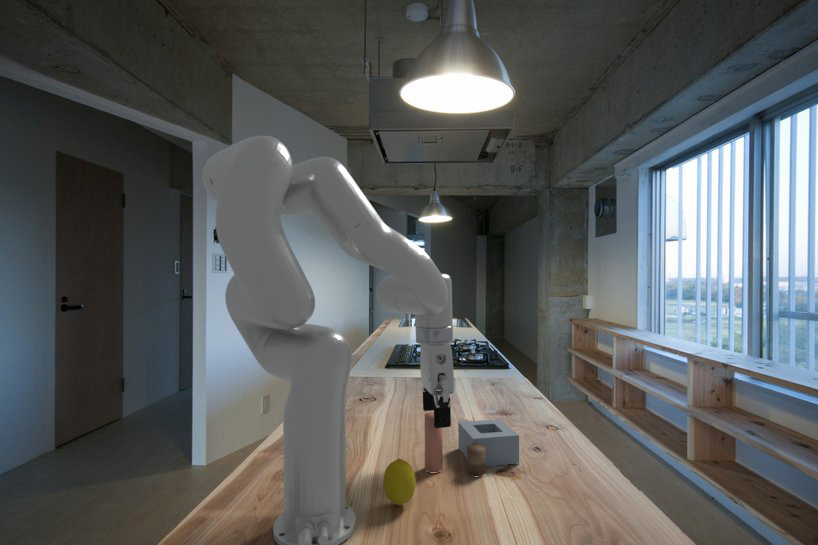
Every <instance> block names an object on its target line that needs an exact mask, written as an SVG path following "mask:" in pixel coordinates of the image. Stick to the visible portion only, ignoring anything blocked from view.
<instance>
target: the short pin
mask: <svg viewBox="0 0 818 545" xmlns="http://www.w3.org/2000/svg"><path fill="white" fill-rule="evenodd" d="M466 460H467V461H466V467H467V469H466V470H467V471H466V472H468V473H469V474H470V475H473V476H482V475H484V474H485V473H487V472H486V471H487V469H486V468H487V467H486V448H485V447H484V446H482V445H478V444H472V445H469V446H468V447H467V459H466ZM468 473H467V474H468ZM470 475H469V476H470ZM485 475H486V474H485Z"/></svg>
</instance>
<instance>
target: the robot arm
mask: <svg viewBox="0 0 818 545" xmlns="http://www.w3.org/2000/svg"><path fill="white" fill-rule="evenodd" d="M201 173H202V175H201V177H202V178H201V179H202V183H203V186H204V188H205V190H206V192H207V194H208V195H209V196H210V197H211V198H212V199H213V200H214V201H216V207H215V208H216V209H215V230H216V235H217V239H218V243H219V244H220V248H221V250H222V252H223V254H224V256H225V258H226V260H227V262H228V263H229V266H230V268H231V271H232V272H233V275H232V277H231V278H230V280H229V281H228V283H227V285H226V289H225V294H224V295H225V297H224V298H225V306H226V309H227V312H228V315H229V317H230V318H231V320H232V322H233V324H234V325H235V327H236V329H237V331H238V332H239V334H240V336H241V337H242V339H243V340H244V342H245V343H246V345H247V348H249V350H250V352H251V353H252V355H253V357H254V359H255V360H256V361H257V363H258V364H259V365H260V366H261V368H262V370H265V372H266V373H268V374H270V375H271V376H273V377H276V378H279V379H281V380H285V381H287V382H289V383H290V388H289V392H288V396H287V398H286V400H285V404H284V410H283V417H282V420H283V422H282V423H283V424H282V431H283V433H282V434H283V511H282V512H281V513H280V514H279V515H278V517H276V519H275V521H274V523H273V527H272V531H273V532H272V534H273V539H274V541H275V542H276V544H278V545H341V544H342V543H344V542H345V541H346V540H347V539H349V538H350V537H351V536H352V534H353V533H354V531H355V530H356V525H357V516H356V513H355V511H354V510H353V508H351V507H350V506H349V505H347V447H346V446H347V432H346V431H347V427H346V425H347V424H346V422H347V421H346V420H347V419H346V416H347V415H346V414H347V412H346V410H347V395H348V394H347V393H348V392H347V391H348V385H349V380H350V375H351V371H352V362H353V357H352V356H353V355H352V354H353V353H352V350H351V346H350V344H349V342H348V340H347V339H346V338H345V336H344V335H343V334H341V333H340V332H339V331H338V330H336V329H334V328H331V327H328V326H325V325H319V324H318V325H317V324H313V323H308V321H309V320H310V319H311V317H312V316H313V314H314V312H315V308H316V298H315V294H314V290H313V288H312V286H311V284H310V282H309V279H308V278H307V276H306V274H305V272H304V269H303V268H302V266H301V264H300V262H299V261H298V259H297V257H296V255H295V253H294V251H293V249H292V247H291V245H290V243H289V241H288V239H287V236H286V233H285V231H284V228H283V224H282V215H287V216H289V215H290V216H300V215H309V214H313V215H314V216H315V217H316V219H317V220H318V221H319V223H320V224H321V225H322V226H323V227H324V228H325V230H326V231H327V232H328V234H329V235H330V236H331V237H332V238H333V240H334V241H335V242H336V244H337V245H338V246H339V247H340V249H341V250H342V251H343V252H344V253H345V254H346V255H347V256H349V257H350V258H353V259H354V260H357V261H358V262H361V263H363V264H366V265H368V266H371V267H375V268H378V269H379V270H381V271H384V272H387V273H388V274H390V275H387V276H386V277H384V278H382V279H381V280H380V282H379V283H378V285H377V288H376V294H375V297H376V300H377V302H378V304H379V305H380V306H381V307H382V309H384V310H386V311H387V312H391V313H393V314H395V313H397V314H403V315H404V314H405V315H406V314H407V315H415V316H414V317H415V318H414V319H415V343H417V344H418V345H420V348H419V349H420V354H419V356H420V358H419V359H420V360H419V361H420V370H419V371H420V381H421V384H422V410H423V411H424V412H429V411H430V412H431V411H433V412H434V427H435V428H443V429H444V428H445V429H446V428H450V427H451V426H452V418H451V405H452V404H451V397H450V396H451V394H453V395H454V392H455V391H456V390H455V377H454V376H455V373H454V362H453V361H454V359H453V352H452V346H451V344H452V343H453V342H454V335H453V334H454V333H453V332H454V326H453V283H452V281H453V280H452V279H451V278H452V277H451V276H450V275H449V274H447V273H443V272H442V273H441V271H440V270H439V269H438V267H437V265H436V264H435V262H434V261H433V259H432V258H431V257H430V256H429V254H428V253H427V252H425V251H424V250H423V249H422V248H421V247H420V246H419V245H417V244H415V243H414V242H413V241H411V240H410V239H408V238H407V237H406V236H404V235H403V234H401V233H400V232H398V231H397V230H395V229H393V228H392V227H390V226H389V225H387V224H386V223H385V222H384V220H383V219H382V218H381V216H380V215H379V214H378V212H377V211H376V210H375V207H374V206H373V205H372V204H371V202H370V201H369V199H368V198H367V196H366V195H365V194H364V193H363V191H362V190H361V188H360V186H359V185H358V184H357V182H356V180H354V178H353V177H352V175H351V174H350V173H349V171H348V169H347V168H346V167H345V166H344V164H342V163H341V162H340V160H337V159H336V158H333V157H330V156H320V157H315V158H310V159H307V160H304V161H301V162H297V163H294V164H293V159H292V157H291V153H290V152H289V149H288V148H287V147H286V145H285V144H284V143H283V142H282V141H280V140H279V139H278V138H276V137H273V136H270V135H255V136H250V137H247V138H245V139H243V140H240V141H238V142H236V143H234V144H232V145H230V146H228V147H227V148H224V149H222V150H220V151H218V152H216V153H214V154H213V155H212V156H211V157H210V158H208V159H207V161H206V163H205V164H204V166H203V169H202V172H201Z"/></svg>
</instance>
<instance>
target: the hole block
mask: <svg viewBox="0 0 818 545" xmlns="http://www.w3.org/2000/svg"><path fill="white" fill-rule="evenodd" d="M457 427H458V429H457V430H458V431H457V432H458V433H457V434H458V437H457V438H458V444H457V445H458V448H459V449H460V450H461V451H460V450H459V449H458V448H457V449H458V450H459V451H460V452H462V453H463V454H464V455H463V454H462V453H461V454H462V455H463V457H464V456H465V457H466V458H467V447H468V446H469V445H472V444H478V445H482V446H484V447H485V448H486V466H493V467H497V466H496V465H504V466H509V465H508V464H515V465H520V435H519V434H518V433H517V432H516V431H515V429H513V428H511V427H510V426H509V425H508V424H507V423H506V422H504V421H503V419H501V418H499V419H496V418H495V419H484V420H481V419H480V420H469V421H458V426H457ZM465 457H464V458H465ZM466 458H465V459H466ZM517 463H518V464H517ZM505 464H506V465H505Z"/></svg>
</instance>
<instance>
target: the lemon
mask: <svg viewBox="0 0 818 545" xmlns="http://www.w3.org/2000/svg"><path fill="white" fill-rule="evenodd" d="M382 481H383V482H382V484H383V491H384V494H385V496H386V498H387V499H388V500H389V502H391V503H393V504H396V506H399V507H401V506H403V505H404V504H406V503H408V502H409V501H410V500H411V499H412V498H413V496H414V494H415V491H416V485H417V484H416V475H415V472H414V469H413V467H412V465H411V464H410V463H409V462H408V461H406V460H404V459H402V458H397V459H396V460H394V461H392V462H391V463H389V464H388V465H387V467H386V468H385V471H384V475H383V480H382Z"/></svg>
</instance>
